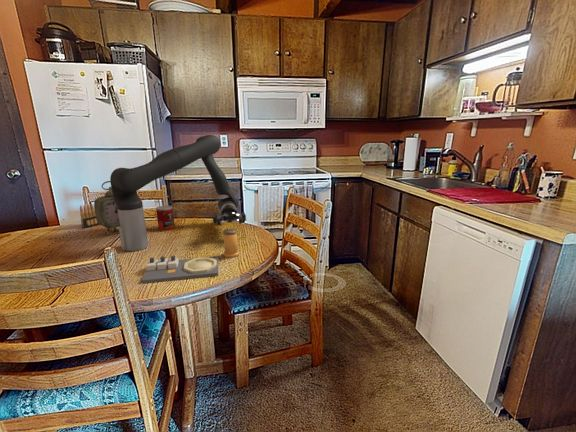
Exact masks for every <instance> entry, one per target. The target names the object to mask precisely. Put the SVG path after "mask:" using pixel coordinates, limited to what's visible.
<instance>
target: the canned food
mask: <svg viewBox="0 0 576 432" xmlns="http://www.w3.org/2000/svg"><path fill="white" fill-rule="evenodd" d="M155 210H156V211H155V212H156V220H157V226H158V230H160V231H171V230H173V229H175V227H176V226H175V217H174V215H175V214H174V208H173V206H172V205H158V206H156V208H155Z"/></svg>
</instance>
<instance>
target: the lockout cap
mask: <svg viewBox="0 0 576 432" xmlns="http://www.w3.org/2000/svg"><path fill="white" fill-rule="evenodd" d="M222 232H223V242H224V243H223V244H224V245H223V247H224V251H223V257H224V258H227V259H232V258H233V259H234V258H236V257H238V256H240V251H239V249H238V230H237V229H236V228H227V229H223V231H222Z"/></svg>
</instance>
